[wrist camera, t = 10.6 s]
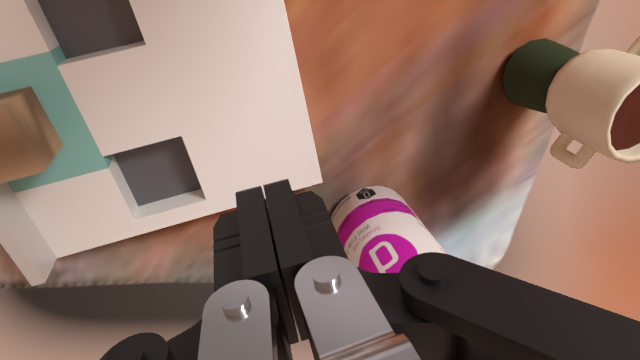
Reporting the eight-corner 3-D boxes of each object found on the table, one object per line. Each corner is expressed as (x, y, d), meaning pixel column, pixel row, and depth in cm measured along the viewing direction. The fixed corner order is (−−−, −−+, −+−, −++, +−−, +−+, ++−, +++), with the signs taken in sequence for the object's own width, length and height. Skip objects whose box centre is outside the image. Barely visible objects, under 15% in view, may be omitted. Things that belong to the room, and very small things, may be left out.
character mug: (515, 135, 43) (622, 199, 32) (467, 105, 40) (566, 163, 29) (589, 37, 40) (737, 71, 29) (542, -4, 37) (687, 16, 26)
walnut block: (-39, 103, 28) (-78, 126, 24) (31, 86, 29) (3, 106, 25) (-1, 161, 31) (-31, 191, 27) (63, 145, 31) (43, 172, 27)
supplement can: (311, 220, 42) (357, 337, 30) (375, 166, 41) (452, 264, 28) (358, 262, 46) (416, 381, 34) (417, 215, 45) (501, 319, 32)
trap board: (-125, -32, 26) (-198, -28, 21) (255, -109, 29) (264, -121, 24) (54, 243, 37) (31, 286, 32) (316, 169, 40) (331, 199, 35)
